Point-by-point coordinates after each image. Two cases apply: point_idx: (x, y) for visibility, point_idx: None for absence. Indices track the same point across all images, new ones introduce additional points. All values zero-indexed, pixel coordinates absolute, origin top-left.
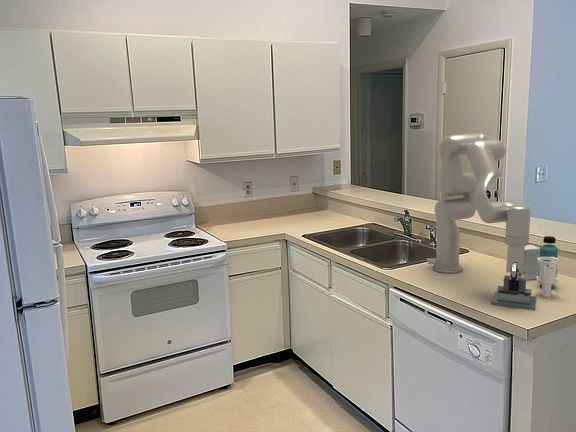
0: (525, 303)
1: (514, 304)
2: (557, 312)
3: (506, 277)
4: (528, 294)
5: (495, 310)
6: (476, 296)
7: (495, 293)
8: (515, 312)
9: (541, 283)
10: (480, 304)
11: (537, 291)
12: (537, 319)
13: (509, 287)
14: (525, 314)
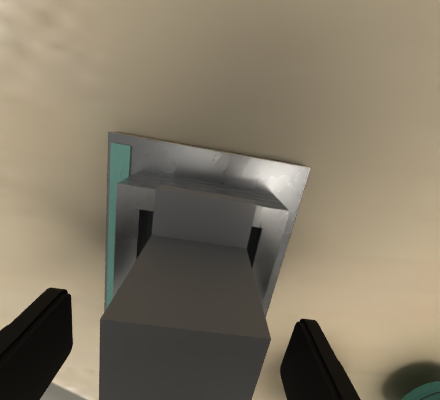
0: None
1: (109, 258)
2: None
3: (171, 351)
4: None
5: (27, 151)
6: (249, 35)
7: (278, 169)
8: (46, 248)
9: (420, 393)
10: (95, 58)
11: (358, 352)
12: (2, 322)
13: (30, 311)
14: (40, 286)
